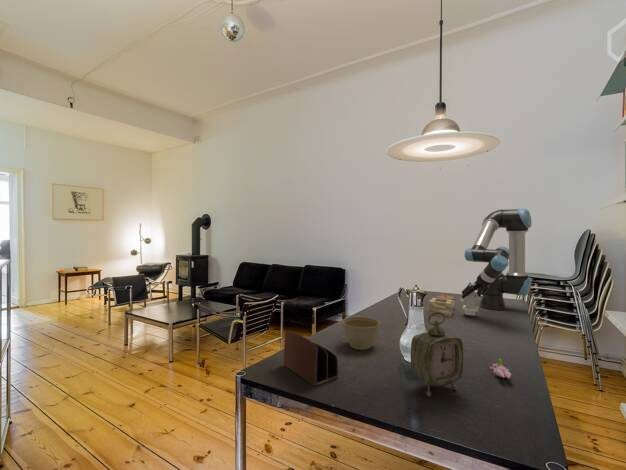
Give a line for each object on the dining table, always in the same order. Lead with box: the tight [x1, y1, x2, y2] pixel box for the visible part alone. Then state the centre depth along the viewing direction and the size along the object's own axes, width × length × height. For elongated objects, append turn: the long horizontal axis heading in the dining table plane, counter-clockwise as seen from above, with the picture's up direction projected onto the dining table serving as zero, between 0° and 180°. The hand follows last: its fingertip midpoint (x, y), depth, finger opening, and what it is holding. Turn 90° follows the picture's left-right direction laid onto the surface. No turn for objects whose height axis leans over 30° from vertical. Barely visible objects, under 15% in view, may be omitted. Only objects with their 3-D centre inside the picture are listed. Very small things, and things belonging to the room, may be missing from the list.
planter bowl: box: [342, 316, 381, 351], centre depth 140 cm, size 16×16×11 cm
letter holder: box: [283, 331, 339, 386], centre depth 114 cm, size 10×20×14 cm, turn 37°
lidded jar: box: [436, 294, 455, 307], centre depth 207 cm, size 11×11×9 cm
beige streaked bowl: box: [428, 297, 454, 318], centre depth 195 cm, size 12×12×8 cm
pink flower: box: [489, 358, 512, 379], centre depth 112 cm, size 6×6×15 cm
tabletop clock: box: [410, 312, 464, 397], centre depth 102 cm, size 14×9×25 cm, turn 114°
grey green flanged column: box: [462, 290, 479, 316], centre depth 189 cm, size 8×8×14 cm
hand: (466, 300), depth 193 cm, fingers closed on grey green flanged column, 6 cm apart
